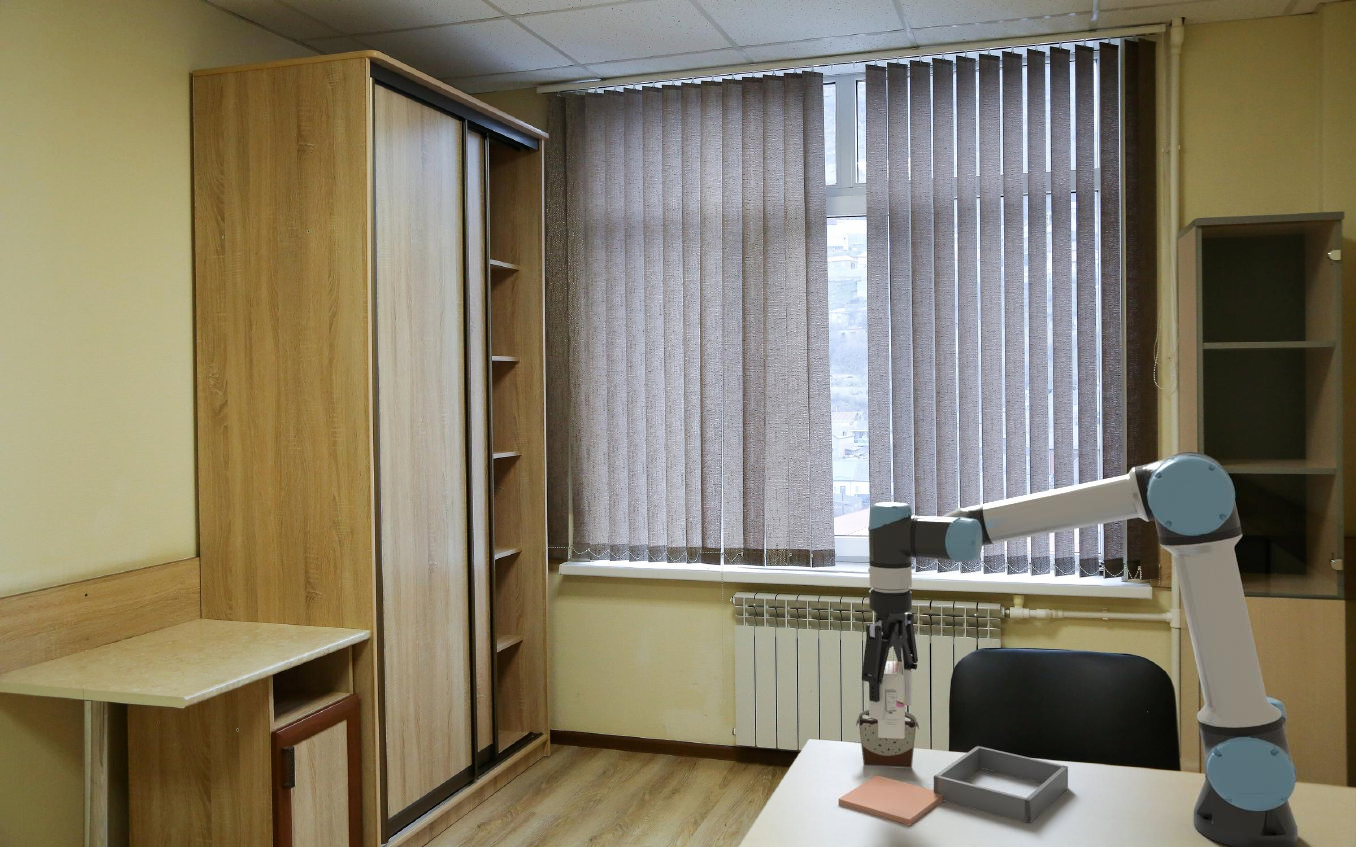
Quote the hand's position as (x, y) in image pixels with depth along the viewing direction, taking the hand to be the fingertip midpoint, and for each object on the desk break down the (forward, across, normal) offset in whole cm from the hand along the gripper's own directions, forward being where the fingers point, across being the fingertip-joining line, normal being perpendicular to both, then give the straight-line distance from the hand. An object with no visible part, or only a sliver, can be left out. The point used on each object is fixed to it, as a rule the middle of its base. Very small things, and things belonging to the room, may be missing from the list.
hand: (890, 710), depth 178 cm
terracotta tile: (+17, 0, 0) cm, 17 cm away
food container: (+17, -17, -10) cm, 26 cm away
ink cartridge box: (+4, 0, 0) cm, 4 cm away
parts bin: (+17, -16, +14) cm, 27 cm away
